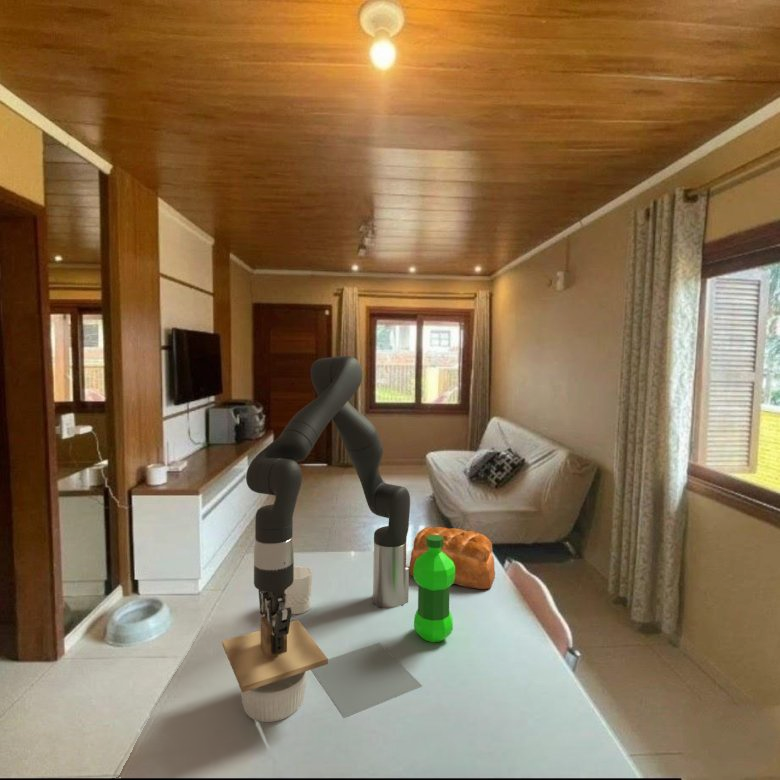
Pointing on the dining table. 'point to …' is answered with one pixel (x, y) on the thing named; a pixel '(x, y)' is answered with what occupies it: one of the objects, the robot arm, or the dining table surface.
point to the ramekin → (275, 698)
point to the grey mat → (364, 679)
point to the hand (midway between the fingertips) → (273, 645)
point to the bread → (461, 555)
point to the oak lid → (271, 655)
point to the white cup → (299, 591)
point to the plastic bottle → (433, 591)
